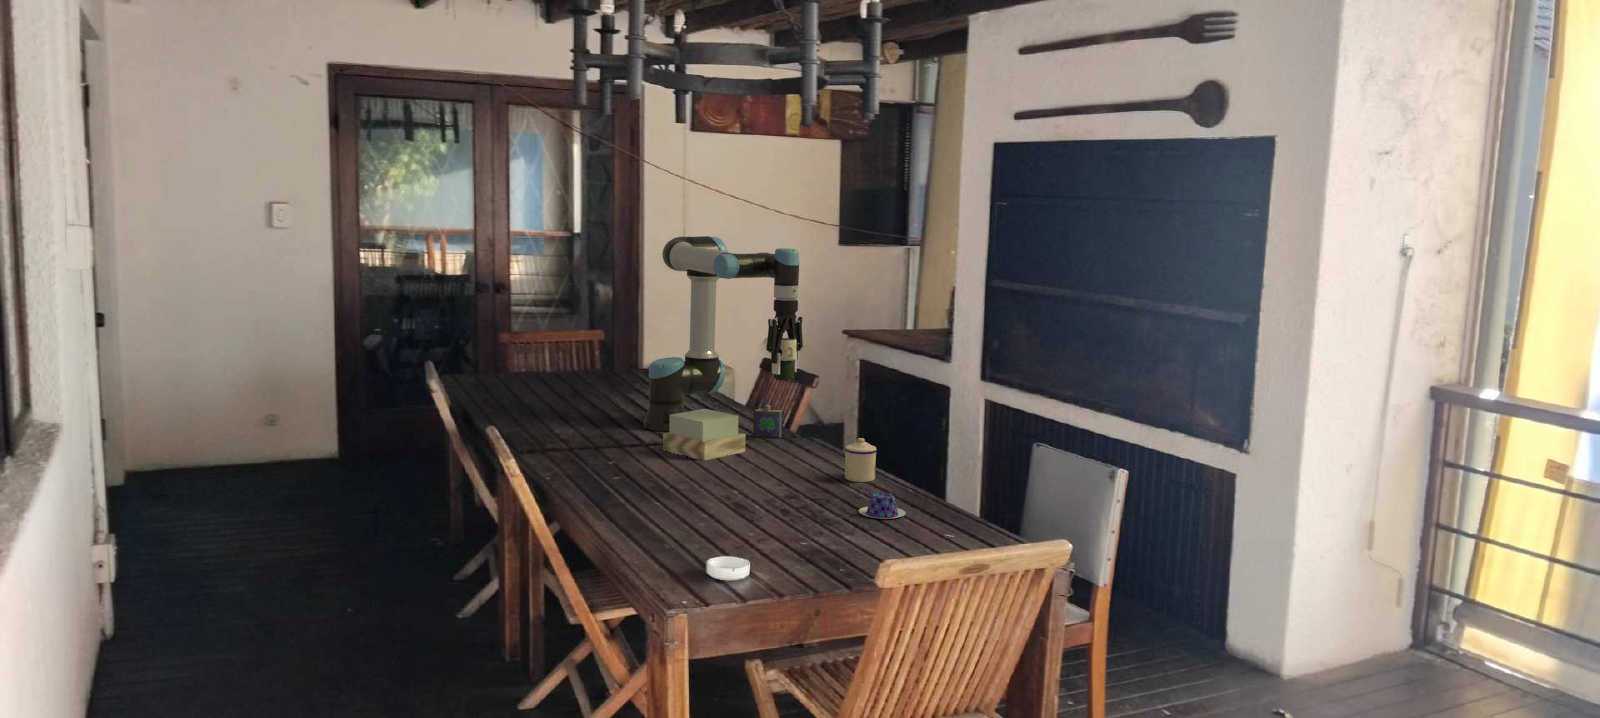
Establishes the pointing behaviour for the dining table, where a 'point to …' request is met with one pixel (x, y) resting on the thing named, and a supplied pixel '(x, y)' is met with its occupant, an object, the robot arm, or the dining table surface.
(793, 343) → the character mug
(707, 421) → the tower top
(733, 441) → the tower base
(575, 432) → the dining table surface
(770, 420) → the flask
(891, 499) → the pudding
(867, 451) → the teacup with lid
